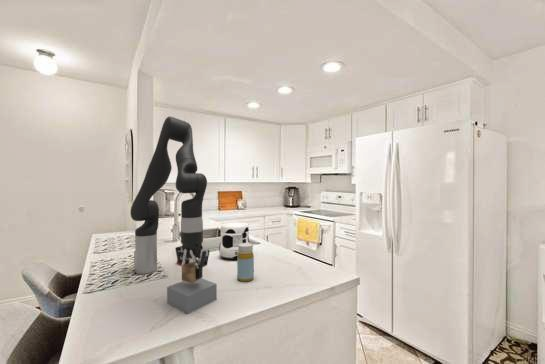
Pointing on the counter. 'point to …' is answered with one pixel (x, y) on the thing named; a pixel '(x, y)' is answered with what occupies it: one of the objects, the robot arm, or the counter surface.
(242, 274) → the bottle
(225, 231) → the milk container
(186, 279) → the walnut cube
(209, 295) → the gray square block
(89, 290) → the counter surface
